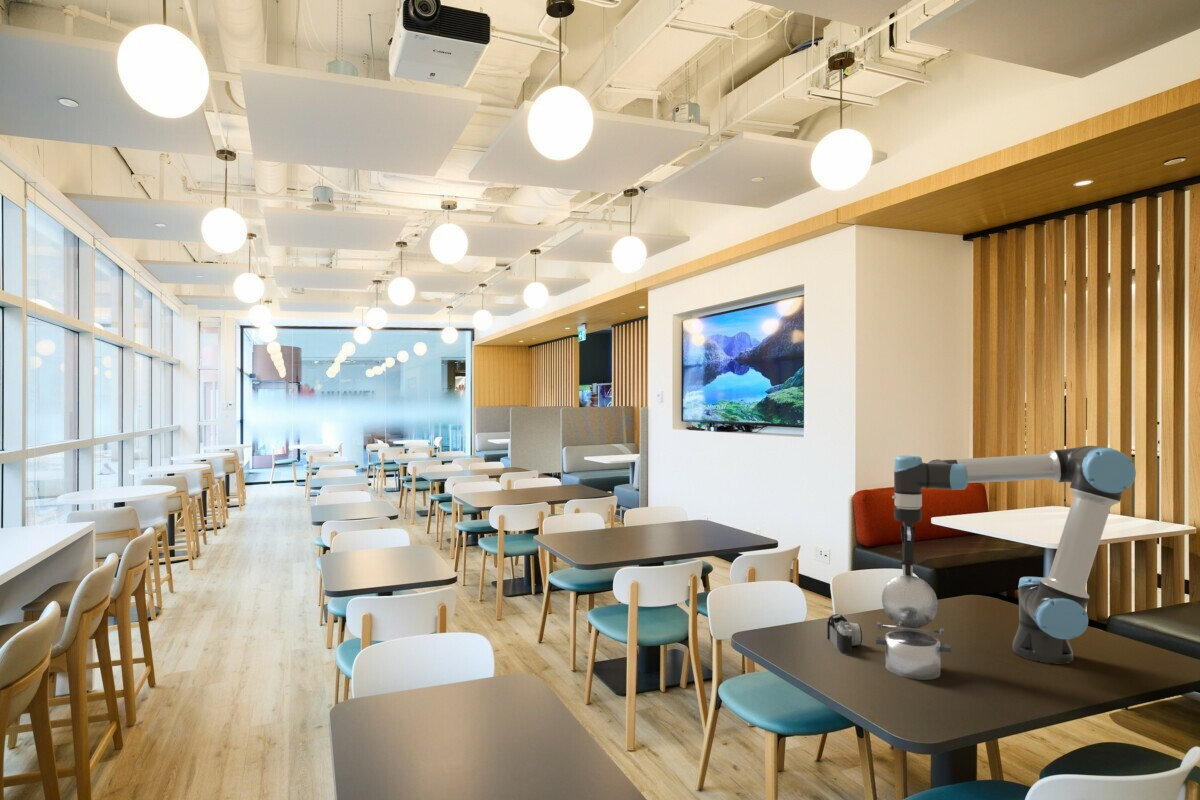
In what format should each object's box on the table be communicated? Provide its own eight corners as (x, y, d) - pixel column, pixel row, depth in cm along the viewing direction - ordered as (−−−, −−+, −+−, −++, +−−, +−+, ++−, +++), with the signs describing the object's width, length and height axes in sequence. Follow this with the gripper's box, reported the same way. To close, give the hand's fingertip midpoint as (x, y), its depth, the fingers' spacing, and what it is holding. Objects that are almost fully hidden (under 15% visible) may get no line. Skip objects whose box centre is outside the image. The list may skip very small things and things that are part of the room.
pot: (954, 685, 179) (953, 647, 179) (877, 676, 185) (876, 638, 185) (946, 664, 193) (945, 629, 193) (875, 656, 200) (874, 621, 200)
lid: (937, 578, 195) (936, 577, 198) (881, 573, 200) (880, 572, 203) (939, 633, 193) (938, 632, 195) (881, 627, 198) (881, 626, 201)
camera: (868, 657, 200) (868, 623, 200) (837, 656, 200) (837, 623, 200) (852, 639, 215) (852, 608, 215) (823, 638, 216) (823, 607, 216)
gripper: (893, 503, 208) (892, 579, 208) (895, 509, 196) (894, 590, 196) (919, 505, 206) (919, 581, 206) (923, 511, 194) (923, 593, 193)
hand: (907, 586), depth 201 cm, fingers closed
